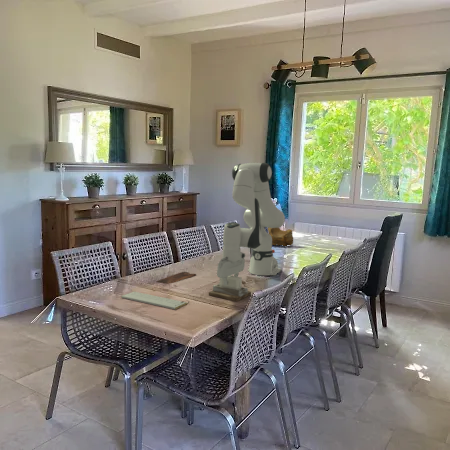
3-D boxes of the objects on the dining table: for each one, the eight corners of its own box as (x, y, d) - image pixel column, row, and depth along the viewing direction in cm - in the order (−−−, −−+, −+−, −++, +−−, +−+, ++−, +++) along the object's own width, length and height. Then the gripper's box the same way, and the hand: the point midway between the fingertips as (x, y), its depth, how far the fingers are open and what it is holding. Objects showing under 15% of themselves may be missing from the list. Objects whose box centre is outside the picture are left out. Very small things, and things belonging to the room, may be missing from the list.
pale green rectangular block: (222, 289, 225) (223, 273, 224) (241, 293, 219) (241, 277, 218) (219, 290, 222) (219, 275, 221) (238, 294, 217) (238, 278, 215)
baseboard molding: (137, 293, 222) (121, 299, 211) (137, 287, 221) (121, 293, 211) (189, 303, 207) (175, 311, 196) (190, 297, 207) (175, 304, 196)
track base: (224, 288, 231) (224, 281, 230) (250, 294, 222) (251, 286, 222) (208, 295, 219) (209, 287, 219) (236, 301, 211) (236, 293, 210)
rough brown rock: (259, 245, 360) (259, 227, 357) (270, 241, 372) (271, 224, 369) (283, 251, 345) (283, 232, 342) (294, 246, 358) (295, 228, 354)
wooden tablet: (167, 282, 236) (153, 277, 241) (167, 286, 236) (153, 281, 241) (197, 273, 258) (184, 269, 263) (197, 277, 258) (184, 272, 263)
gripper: (225, 260, 208) (224, 288, 210) (247, 253, 225) (246, 279, 227) (214, 258, 211) (213, 286, 213) (236, 251, 228) (235, 277, 230)
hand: (230, 283), depth 220 cm, fingers open, 7 cm apart
